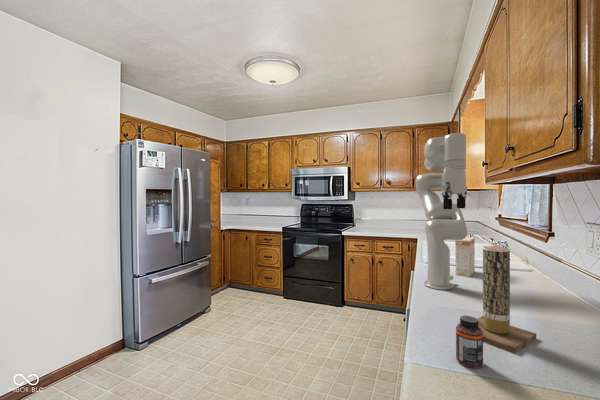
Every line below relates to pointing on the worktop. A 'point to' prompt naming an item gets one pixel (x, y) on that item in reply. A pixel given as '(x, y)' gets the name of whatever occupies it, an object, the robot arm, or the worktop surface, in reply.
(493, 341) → the board
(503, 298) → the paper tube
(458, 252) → the coffeecake box
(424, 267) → the worktop surface
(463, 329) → the supplement bottle
